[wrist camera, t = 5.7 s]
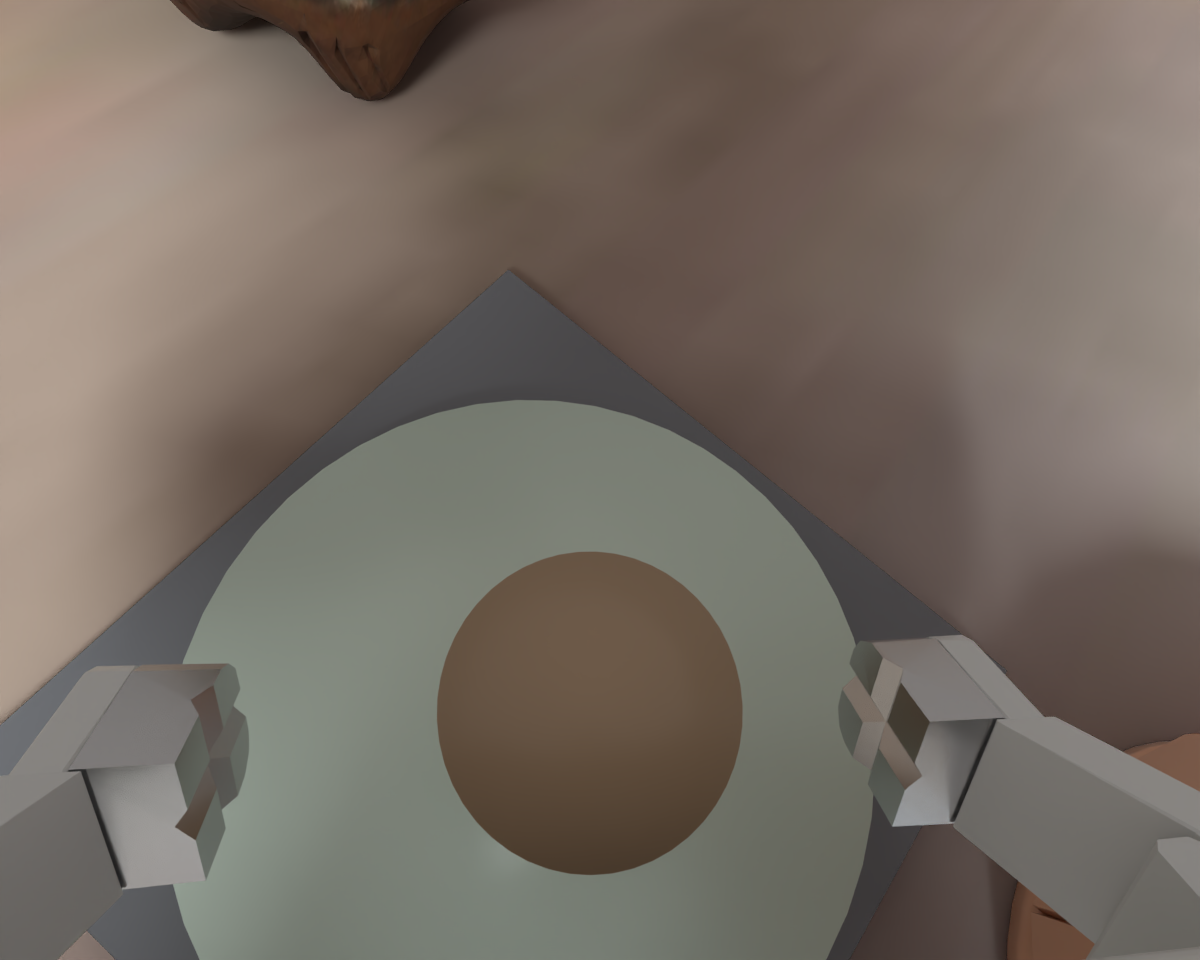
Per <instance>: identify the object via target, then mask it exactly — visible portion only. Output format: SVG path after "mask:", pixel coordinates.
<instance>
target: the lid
mask: <svg viewBox="0 0 1200 960" xmlns="http://www.w3.org/2000/svg"><path fill="white" fill-rule="evenodd" d="M855 647H856V644H855V641H854V637H853V635H852V632H851V630H850V628H849V625H848V623H847V620H846V618H845V615H844V613H843V611H842V608H841V606H840V603H839V601H838V599H837V596H836V595H835V593H834V591H833V589H832V587H831V586H830V584H829V582H828V580H827V578H826V577H825V575H824V573H823V571H822V569H821V567H820V566H819V564H818V562H817V560H816V559H815V558H814V556H813V555H812V553H811V552H810V551H809V549H808V548H807V546H806V545H805V543H804V542H803V541H802V539H801V538H800V536H799V535H798V534H797V532H796V531H795V529H794V528H793V527H792V526H791V525H790V523H789V522H788V521H787V520H786V519H785V518H784V517H783V516H782V515H781V513H780V512H779V511H778V510H777V509H776V508H775V507H774V506H773V505H772V503H771V502H770V501H769V500H768V499H767V498H766V497H765V496H764V495H763V494H762V493H761V492H759V491H758V490H757V489H756V488H755V487H754V486H753V485H751V484H750V483H749V482H748V481H747V480H746V479H745V478H744V477H742V476H741V475H740V474H739V473H738V472H737V471H735V470H734V469H733V468H731V467H730V466H728V465H727V464H725V463H724V462H722V461H721V460H720V459H718V458H717V457H715V456H714V455H712V454H711V453H709V452H708V451H707V450H705V449H704V448H702V447H700V446H698V445H696V444H694V443H692V442H691V441H689V440H687V439H685V438H683V437H681V436H679V435H677V434H676V433H674V432H672V431H670V430H668V429H665V428H663V427H660V426H657V425H655V424H652V423H650V422H647V421H645V420H642V419H640V418H637V417H634V416H631V415H627V414H624V413H620V412H616V411H612V410H608V409H604V408H601V407H597V406H591V405H584V404H576V403H569V402H562V401H543V400H512V401H502V402H492V403H482V404H475V405H470V406H466V407H461V408H457V409H452V410H448V411H443V412H439V413H435V414H432V415H430V416H427V417H424V418H421V419H418V420H415V421H412V422H410V423H407V424H404V425H401V426H398V427H396V428H394V429H392V430H390V431H388V432H386V433H384V434H382V435H380V436H378V437H376V438H374V439H371V440H369V441H367V442H365V443H363V444H361V445H359V446H358V447H356V448H355V449H353V450H352V451H350V452H348V453H347V454H345V455H344V456H342V457H341V458H339V459H338V460H336V461H335V462H333V463H331V464H330V465H328V466H327V467H325V468H324V469H322V470H321V471H320V472H319V473H317V474H316V475H315V476H314V477H313V478H311V479H310V480H309V481H308V482H307V483H305V484H304V485H303V486H302V487H301V488H299V489H298V490H297V491H296V492H295V493H293V494H292V495H291V496H290V497H289V498H287V499H286V501H285V502H284V503H283V504H282V505H281V506H280V507H279V508H278V509H277V510H276V511H275V512H274V513H273V514H272V515H271V516H270V517H269V518H268V520H267V521H266V522H265V523H264V524H263V525H262V526H261V527H260V528H259V529H258V530H257V531H256V532H255V534H254V535H253V536H252V538H251V539H250V540H249V542H248V543H247V544H246V546H245V547H244V548H243V550H242V551H241V553H240V554H239V555H238V557H237V558H236V559H235V561H234V562H233V563H232V565H231V566H230V567H229V569H228V570H227V572H226V573H225V575H224V577H223V579H222V581H221V582H220V584H219V586H218V588H217V589H216V591H215V593H214V595H213V596H212V598H211V600H210V602H209V603H208V605H207V607H206V609H205V611H204V612H203V614H202V617H201V619H200V622H199V624H198V626H197V629H196V631H195V634H194V636H193V638H192V641H191V643H190V646H189V648H188V651H187V653H186V655H185V658H184V660H183V664H224V663H229V664H230V665H232V666H233V667H235V668H236V673H237V677H238V681H239V685H240V691H239V693H238V696H237V698H236V700H235V703H234V705H233V706H234V707H235V708H236V709H238V710H239V711H240V712H241V713H242V714H244V715H245V716H246V719H247V725H248V730H249V755H248V761H247V767H246V773H245V777H244V780H243V783H242V786H241V788H240V791H239V794H238V796H237V797H236V798H235V799H234V800H232V801H231V802H230V803H229V804H228V805H226V806H225V807H224V808H223V809H222V814H223V818H224V823H225V827H226V829H225V832H224V834H223V837H222V840H221V842H220V845H219V848H218V850H217V853H216V856H215V858H214V861H213V863H212V866H211V869H210V871H209V874H208V877H207V879H206V881H198V882H189V883H179V884H173V886H174V890H175V894H176V897H177V901H178V904H179V908H180V912H181V915H182V919H183V923H184V925H185V928H186V930H187V932H188V934H189V937H190V939H191V941H192V944H193V946H194V948H195V950H196V953H197V955H198V957H199V959H200V960H826V959H827V957H828V955H829V953H830V950H831V948H832V946H833V944H834V942H835V939H836V937H837V935H838V933H839V931H840V929H841V926H842V924H843V922H844V920H845V918H846V916H847V913H848V910H849V907H850V904H851V901H852V898H853V895H854V891H855V888H856V885H857V882H858V879H859V876H860V872H861V869H862V866H863V861H864V856H865V851H866V845H867V840H868V835H869V830H870V824H871V819H872V807H873V792H872V791H871V789H870V787H869V785H868V781H869V776H870V771H871V770H870V769H869V768H867V767H866V766H864V765H863V764H862V763H860V762H859V761H857V760H856V759H854V758H853V757H852V755H851V754H850V752H849V750H848V748H847V746H846V744H845V743H844V740H843V737H842V733H841V730H840V727H839V715H838V705H839V700H840V696H841V692H842V688H843V687H844V686H845V685H846V684H847V683H849V682H850V681H851V680H852V679H853V678H854V677H855V676H856V674H855V673H854V671H853V669H852V667H851V666H850V664H849V663H850V659H851V656H852V653H853V649H854V648H855Z"/></svg>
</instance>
